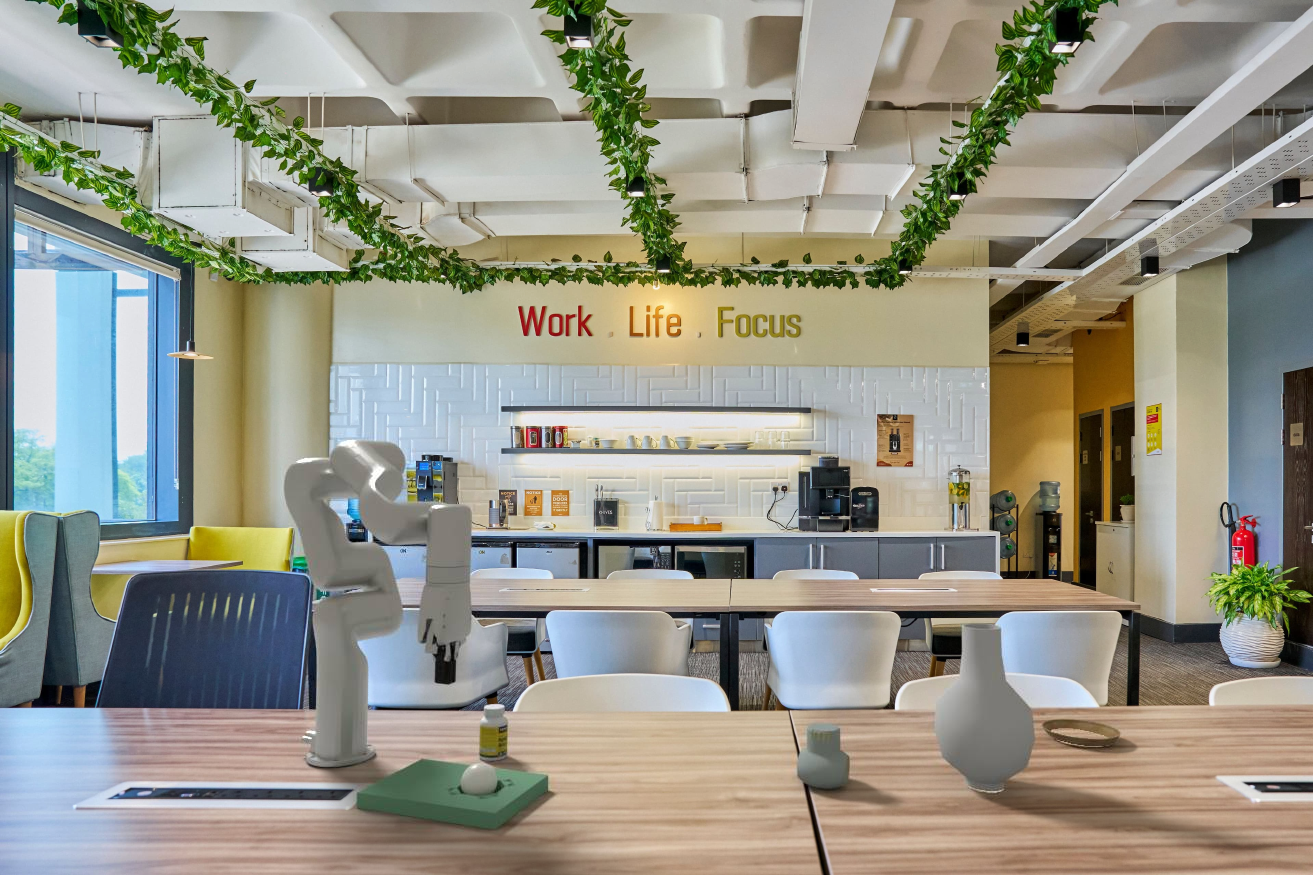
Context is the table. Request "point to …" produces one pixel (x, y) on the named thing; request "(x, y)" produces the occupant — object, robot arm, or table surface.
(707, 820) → the table surface
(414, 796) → the mat
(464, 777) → the ball
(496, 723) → the supplement bottle
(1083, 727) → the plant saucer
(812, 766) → the air freshener
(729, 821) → the table surface
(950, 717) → the vase
